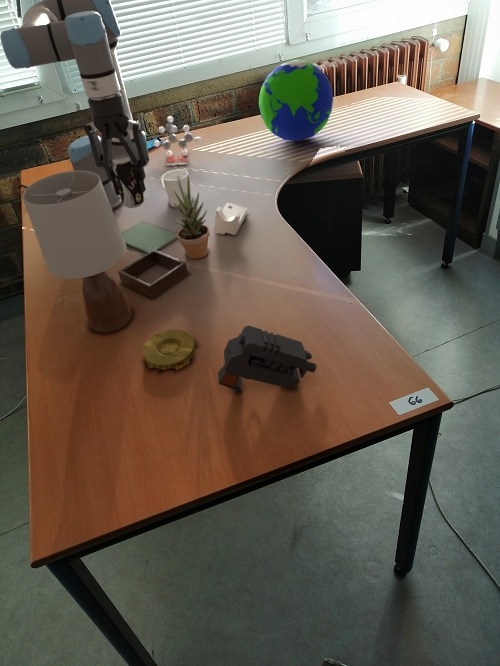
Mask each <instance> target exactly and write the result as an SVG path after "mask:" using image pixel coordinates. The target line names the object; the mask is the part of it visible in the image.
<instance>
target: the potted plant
mask: <svg viewBox="0 0 500 666" xmlns="http://www.w3.org/2000/svg"><path fill="white" fill-rule="evenodd" d="M178 182H179V187H180V190H181V194H182V197H183V201H184V203H183V202H182V200H181V199H180V198H179V196H178V195H177V193H176V192H175V191H174V193H175V195H176V197H177V199H178V201H179V203H180V204H179V205H178V206H177V205H176V204H175V203H174V205H175V206H176V208H175V209H176V210H177V211H178V213H179V214H180V215H181V217H182V218H183V219H182V218H181V217H178V219H179V220H180V222H181V223H180V222H177V221H175V220H174V222H173V223H175V224H177V225H179V226H180V227H181V228H180V229H179V230H178V231H177V232H176V235H177V238H176V239H177V242H179V244H181V246H182V248H183V249H184V251H185V254H186V256H187V257H188V258H190V259H194V260H195V259H201V258H203V257H205V256H206V255H207V254H208V245H209V237H210V236H211V235H210V228H209V227H208V226H207V225H205V224H204V223H205V222H206V219H204V218H205V216H206V215H207V211H208V209H206V210H205V212H204V213H203V214H202V216H200V214H201V211H202V209H203V206H204V202H202V203H201V205H200V206H199V207H198V204H199V200H200V192H199V191H198V192H197V195H196V198H195V201H194V203H193V200H192V201H191V197H192V191H191V192H190V190H191V181H190V174H188V182H187V194H186V193H185V196H184V193H183V190H182V186H181V183H180V180H179V176H178ZM179 206H180V207H179Z"/></svg>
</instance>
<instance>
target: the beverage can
mask: <svg viewBox="0 0 500 666" xmlns="http://www.w3.org/2000/svg"><path fill="white" fill-rule="evenodd" d="M134 168H135V166H134V164H133V162H132V160H131V159H130V157H129V155H122V156H118V157H116V158H114V159H113V165H112V170H113V173H114V176H115V180H116V183H117V187H118V190H119V194H120V197H121V201H122V203H121V205H123V206H124V207H125V208H129V209H135V208H138V207H141V206H142V205H143V204H144V203H145V195H144V194H145V193H143V194H142V195H139V191H138V187H137V183H136V180H135V176H134V172H133V169H134Z"/></svg>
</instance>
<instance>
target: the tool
mask: <svg viewBox="0 0 500 666" xmlns="http://www.w3.org/2000/svg"><path fill="white" fill-rule="evenodd" d="M223 359H224V361H223V362H224V364H223V366H222V367H221V368H220V369H219V370H218V372H217V379H218V382H217V383H218V385H220V386H223V387H226V388H228V389H231V390H233V391H236V392H240V391H241V389H242V388H243V386H242V385H243V384H242V379H245V380H253V381H256V382H261V383H265V384H270V385H273V386H278V387H282V388H287V389H290V390H291V389H294V388H296V387H297V386H298V384H299V383H300V381H301V379H300V378H302V379H303V378H304V376H305V375H306V373H307V372H309V373H315V372H316V370H317V363H315V362H312V361H310V360H312V359H313V354H312V353H311V352H310V351H309V350H306V349H305V347H304V344H303V342H302V341H300V340H297V339H294V338H290V337H287V336H284V335H281V334H277V333H276V334H274V332H272V331H271V332H269V331H268V330H266V329H265V330H263V329H262V328H259V327H255V326H252V325H249V324H248V325H245V326H243V329H242V330H241V332H240V333H239V334H238V336H236V337H234V338H231V339H228V341H227V343H226V346H225V348H224V350H223Z"/></svg>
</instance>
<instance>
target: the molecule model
mask: <svg viewBox="0 0 500 666" xmlns="http://www.w3.org/2000/svg"><path fill="white" fill-rule="evenodd" d="M166 120H167V122H168V123H166V125H165V127H164V126H159V127H158V132H159V133H160V134H164V133H165V132H167V133H170V134H169V135H168V140H164V141H163V142H160V141H159V140H158V139H155V140H154V141H153V146H154V147H157V148H158V147H159V146H160V145H161V146H162V148H163V149H164V150H167V151H166V152H165V155H166V156H167V162H166V166H168V167H170V166H172V167H175V166H177V165H179V166H182V165H184V166H187V165H188V162H187V157H185V156H187V155H188V153H189V151H188V150H187V149H185V148H186V147H187V143H191V142H192V141H193V140H194V141H195V143H196V144H200V143H201V142H202V137H200V136H196V137H193V134H192V133H190V126H189V125H188V124H185V125H183V127H182V130H183V131H184V132H185V134H184V137H183V138H184V139H183V138H182V139H178V137H177V135H176V134H175V133H177V132H178V127H177V126H176V125H174V124H173V122H174V117H173V116H172V115H168V116H167V118H166ZM175 143H177V146H178V147H179V149H182V150H181V154H182V156H181V157H180V155H177V157H176V158H175V157H174V156H172V155H173V152H172V151H171V150H170V149H171V146H172V144H175ZM179 161H180V162H179Z"/></svg>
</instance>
